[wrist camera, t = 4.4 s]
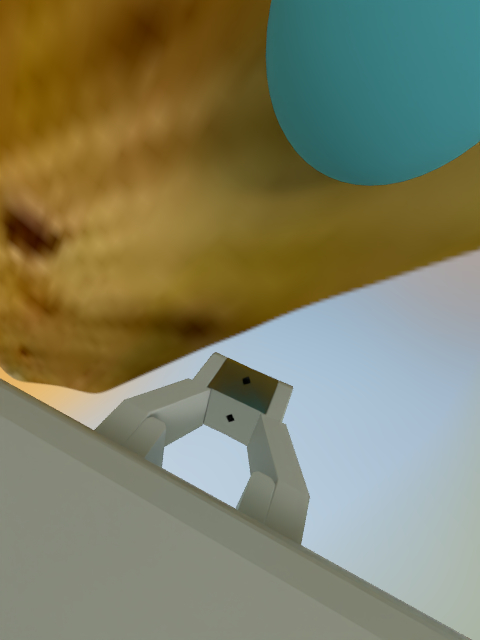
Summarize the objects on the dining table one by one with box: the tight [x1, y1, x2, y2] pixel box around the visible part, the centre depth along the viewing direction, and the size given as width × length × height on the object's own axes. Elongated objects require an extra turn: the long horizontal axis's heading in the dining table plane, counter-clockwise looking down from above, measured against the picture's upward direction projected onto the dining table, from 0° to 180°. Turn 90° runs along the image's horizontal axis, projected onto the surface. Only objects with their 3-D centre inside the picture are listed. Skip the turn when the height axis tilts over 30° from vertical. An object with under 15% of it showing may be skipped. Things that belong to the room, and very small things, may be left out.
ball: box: [266, 0, 480, 186], centre depth 7 cm, size 6×6×6 cm
